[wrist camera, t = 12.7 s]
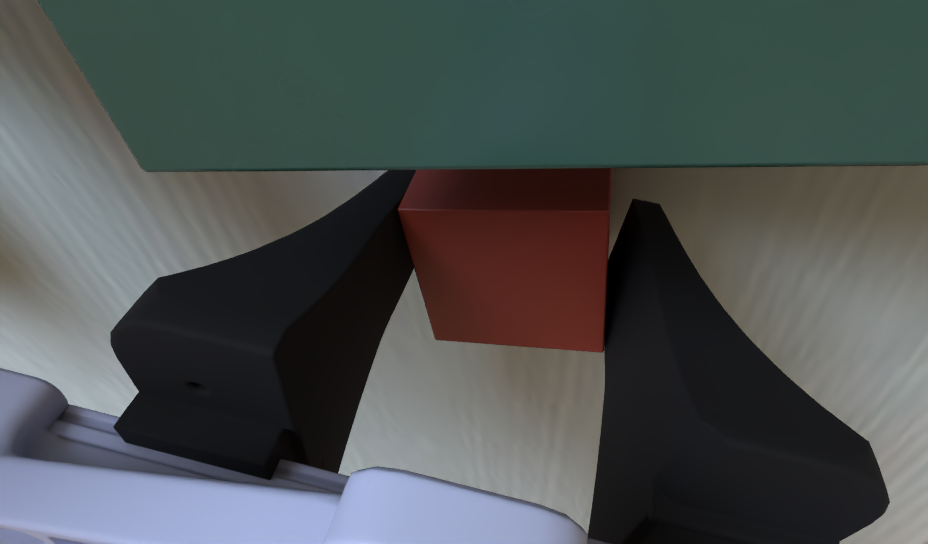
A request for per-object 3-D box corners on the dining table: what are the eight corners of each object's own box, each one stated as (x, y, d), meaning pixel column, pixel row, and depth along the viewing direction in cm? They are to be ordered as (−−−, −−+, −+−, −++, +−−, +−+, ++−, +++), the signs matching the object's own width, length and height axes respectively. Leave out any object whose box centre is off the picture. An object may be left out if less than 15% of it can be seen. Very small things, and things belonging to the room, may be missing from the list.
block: (608, 238, 15) (603, 353, 12) (468, 235, 16) (434, 340, 13) (614, 103, 12) (610, 211, 9) (444, 109, 13) (396, 209, 10)
